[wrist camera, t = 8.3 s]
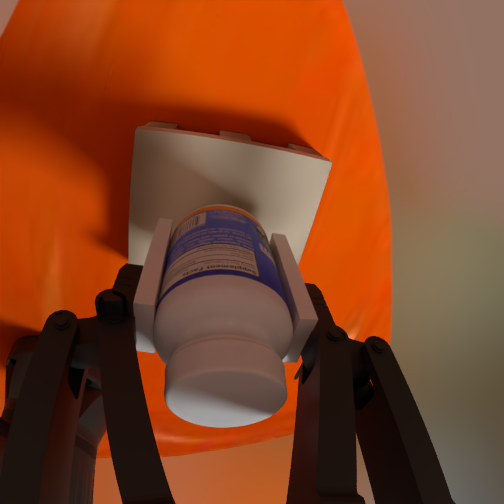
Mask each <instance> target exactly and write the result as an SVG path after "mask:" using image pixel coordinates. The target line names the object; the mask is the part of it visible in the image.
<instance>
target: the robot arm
mask: <svg viewBox="0 0 504 504" xmlns="http://www.w3.org/2000/svg"><path fill="white" fill-rule="evenodd" d="M172 226H173V219H165V218H159V220H158V223H157V225H156V228H155V232H154V235H153V238H152V241H151V244H150V247H149V250H148V253H147V257H146V260H145V263H144V266H143V265H135V264H128V263H126V264H125V265H124V266H123V267H122V268H121V269H120V270H119V272H118V275H117V278H116V280H115V283H114V285H113V288H112V289H107V290H104V291H102V292H100V293H99V294H98V295H97V296H96V299H95V306H96V312H97V316H94V317H90V318H82V319H77V317H76V315H75V314H74V313H72V312H70V311H67V310H59V311H56V312H54V313H52V314H51V315H50V316H49V317H48V319H47V320H46V322H45V325H44V327H43V330H42V332H41V334H40V337H38V336H28V337H23V338H20V339H18V340H17V341H16V342H15V343H14V345H13V347H12V349H11V351H10V353H9V356H8V358H7V364H6V379H5V406H4V410H3V413H2V416H1V417H0V504H93V487H94V474H95V464H96V454H97V448H98V445H99V443H100V441H101V439H102V437H103V436H104V434H105V432H106V430H107V433H108V439H109V445H110V450H111V456H112V460H113V465H114V470H115V474H116V479H117V483H118V487H119V491H120V495H121V499H122V503H123V504H175V501H174V499H173V497H172V494H171V491H170V488H169V485H168V482H167V479H166V476H165V472H164V469H163V466H162V462H161V459H160V455H159V452H158V448H157V445H156V441H155V437H154V433H153V429H152V425H151V421H150V417H149V413H148V408H147V404H146V399H145V394H144V390H143V385H142V380H141V374H140V369H139V363H138V357H137V351H141V352H149V353H154V352H155V345H154V341H153V324H154V320H155V314H156V308H157V303H158V299H159V294H160V289H161V284H162V280H163V275H164V270H165V266H166V261H167V257H168V252H169V248H170V243H171V236H172ZM269 245H270V248H271V251H272V255H273V258H274V261H275V265H276V268H277V272H278V275H279V279H280V282H281V285H282V289H283V292H284V296H285V299H286V302H287V306H288V309H289V313H290V317H291V320H292V325H293V339H292V343H291V347H290V349H289V351H288V353H287V355H286V356H285V358H284V359H283V360H282V362H297V361H298V359H299V357H300V355H301V356H302V360H303V362H302V364H301V366H300V368H299V370H298V371H297V373H296V375H295V378H294V379H295V380H296V379H297V378H298V376H299V383H298V396H297V409H296V420H295V431H294V442H293V452H292V461H291V469H290V478H289V486H288V494H287V502H286V504H365V500H364V498H363V497H362V496H360V495H359V494H358V493H357V485H356V484H357V465H356V462H357V460H356V434H357V437H358V441H359V444H360V448H361V451H362V455H363V458H364V462H365V466H366V469H367V473H368V477H369V480H370V484H371V488H372V492H373V496H374V500H375V504H455V502H454V501H453V500H452V498H451V495H450V492H449V489H448V486H447V483H446V480H445V477H444V474H443V471H442V469H441V466H440V463H439V460H438V458H437V455H436V452H435V450H434V447H433V444H432V442H431V440H430V437H429V434H428V431H427V429H426V427H425V424H424V422H423V419H422V417H421V414H420V412H419V410H418V407H417V405H416V402H415V400H414V398H413V396H412V393H411V391H410V389H409V386H408V384H407V382H406V380H405V378H404V375H403V374H402V371H401V369H400V367H399V365H398V362H397V360H396V358H395V356H394V354H393V352H392V350H391V348H390V346H389V345H388V343H387V342H386V341H385V340H383V339H382V338H380V337H376V336H371V337H368V338H367V339H366V340H365V342H364V343H363V342H360V341H356V340H352V339H350V338H348V335H347V333H346V332H345V331H344V330H343V329H342V328H340V327H339V326H336V325H335V323H334V321H333V318H332V316H331V313H330V311H329V309H328V306H326V305H327V304H326V302H325V300H324V297H323V295H322V292H321V291H320V290H319V288H318V287H317V286H316V285H315V284H309V283H304V281H303V278H302V276H301V273H300V271H299V268H298V266H297V263H296V260H295V258H294V255H293V253H292V250H291V248H290V245H289V243H288V240H287V238H286V235H283V234H276V233H272V235H271V239H270V242H269ZM370 380H371V381H372V384H373V385H372V384H371V381H370Z"/></svg>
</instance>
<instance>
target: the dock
mask: <svg viewBox="0 0 504 504" xmlns="http://www.w3.org/2000/svg"><path fill="white" fill-rule="evenodd" d="M177 129H178V124H175V123H166V122H157V121H149V122H148V123H147V124H145V125H144V126H139V127H137V128H136V129H135V136H134V146H133V156H132V169H131V183H130V202H129V264H135V265H143V266H144V263H145V260H146V257H147V253H148V250H149V247H150V244H151V241H152V238H153V235H154V232H155V228H156V225H157V223H158V220H159V218H165V219H173V226H172V236H173V233H174V231H175V229H176V227H177V225H178V224H179V223H180V221H181V220H182V219H183V218H184V217H185V216H186V215H188V214H189V213H190V212H192V211H194V210H195V209H198V208H200V207H203V206H207V205H213V204H224V205H231V206H235V207H238V208H241V209H243V210H245V211H247V212H248V213H250V214H251V215H252V216H254V217H255V218H256V219H257V220H258V222H259V223H260V224H261V226H262V227H263V229H264V231H265V233H266V236H267V238H268V241H269V242H270V239H271V235H272V233H276V234H283V235H286V238H287V240H288V243H289V245H290V248H291V250H292V253H293V255H294V258H295V260H296V263H297V266H298V264H299V261H300V258H301V255H302V252H303V250H304V247H305V244H306V241H307V238H308V235H309V232H310V229H311V226H312V224H313V221H314V218H315V215H316V212H317V209H318V206H319V203H320V200H321V197H322V194H323V190H324V187H325V184H326V181H327V178H328V175H329V172H330V169H331V165H332V162H331V161H330V160H329V159H328V158H326V157H323V156H322V155H321V154H320V153H318V152H317V151H316V150H315V149H312V148H308V147H304V146H300V145H296V144H291V143H288V145H287V148H283V147H279V146H274V145H269V144H264V143H259V142H254V141H252V140H251V138H250V137H249V135H248V134H242V133H237V132H231V131H225V130H220V132H219V135H213V134H206V133H199V132H192V131H184V130H177ZM172 236H171V239H172Z"/></svg>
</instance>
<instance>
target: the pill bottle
mask: <svg viewBox="0 0 504 504" xmlns="http://www.w3.org/2000/svg"><path fill="white" fill-rule="evenodd" d="M292 339H293V325H292V320H291V317H290V313H289V309H288V306H287V302H286V299H285V296H284V292H283V289H282V285H281V282H280V279H279V275H278V272H277V268H276V265H275V261H274V258H273V255H272V251H271V248H270V245H269V241H268V238H267V236H266V233H265V231H264V229H263V227H262V226H261V224H260V223H259V222H258V220H257V219H256V218H255V217H254V216H252V215H251V214H250V213H248V212H247V211H245V210H243V209H241V208H238V207H235V206H231V205H224V204H213V205H207V206H203V207H200V208H198V209H195V210H194V211H192V212H190V213H189V214H188V215H186V216H185V217H184V218H183V219H182V220H181V221H180V223H179V224H178V225H177V227H176V229H175V231H174V233H173V236H172V239H171V243H170V248H169V252H168V257H167V261H166V266H165V270H164V275H163V280H162V284H161V289H160V294H159V299H158V303H157V308H156V314H155V320H154V324H153V341H154V345H155V348H156V350H157V353H158V354H159V356H160V358H161V359H162V361H163V362H164V363H165V364H166V368H165V390H164V396H165V402H166V404H167V406H168V408H169V409H170V410H171V411H172V412H173V413H174V414H175V415H176V416H178V417H180V418H182V419H184V420H186V421H188V422H191V423H194V424H198V425H202V426H209V427H237V426H243V425H248V424H252V423H255V422H259V421H261V420H264V419H266V418H268V417H270V416H271V415H273V414H274V413H276V412H277V411H278V410H279V409H280V408H281V407H282V406H283V405H284V403H285V401H286V399H287V386H286V380H285V369H284V364H283V362H282V360H283V359H284V358H285V356H286V355H287V353H288V351H289V349H290V347H291V343H292Z"/></svg>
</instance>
